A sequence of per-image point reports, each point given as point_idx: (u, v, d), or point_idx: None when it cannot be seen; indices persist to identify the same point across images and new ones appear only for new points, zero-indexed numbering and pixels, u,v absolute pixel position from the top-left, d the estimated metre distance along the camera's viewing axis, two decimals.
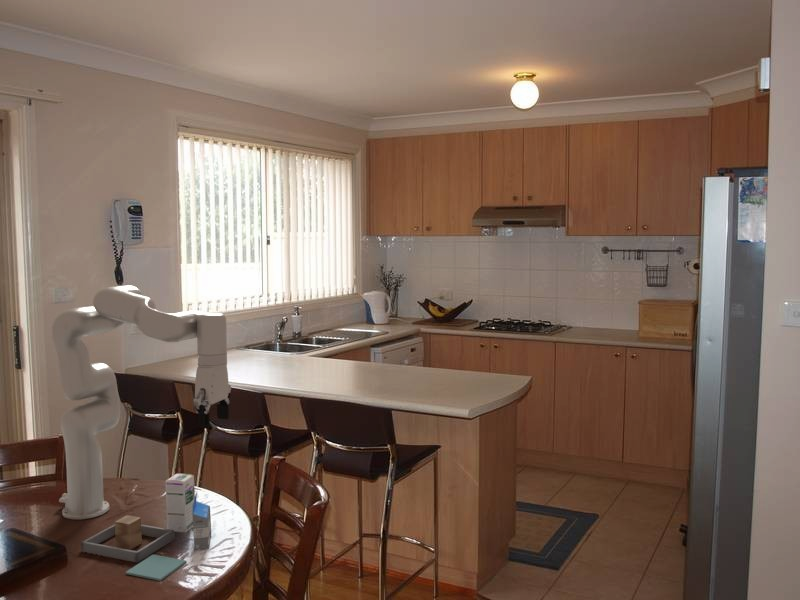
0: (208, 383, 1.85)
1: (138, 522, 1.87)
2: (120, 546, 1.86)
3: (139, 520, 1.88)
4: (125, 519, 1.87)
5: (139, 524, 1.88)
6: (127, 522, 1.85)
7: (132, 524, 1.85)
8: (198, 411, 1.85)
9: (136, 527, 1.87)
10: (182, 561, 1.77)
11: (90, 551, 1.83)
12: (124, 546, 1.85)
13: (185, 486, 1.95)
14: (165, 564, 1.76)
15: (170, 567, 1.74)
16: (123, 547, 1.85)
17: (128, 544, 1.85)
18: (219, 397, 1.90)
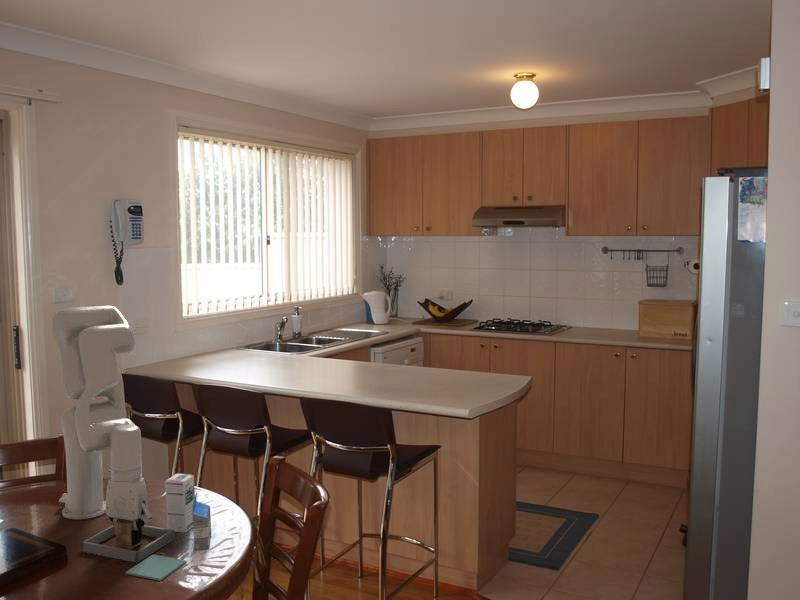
0: (146, 493, 1.86)
1: None
2: (120, 546, 1.85)
3: None
4: None
5: None
6: (127, 522, 1.85)
7: None
8: (140, 527, 1.85)
9: None
10: (182, 561, 1.77)
11: (90, 551, 1.83)
12: (124, 546, 1.85)
13: (185, 486, 1.95)
14: (165, 564, 1.76)
15: (170, 567, 1.74)
16: (123, 547, 1.85)
17: (128, 544, 1.85)
18: None
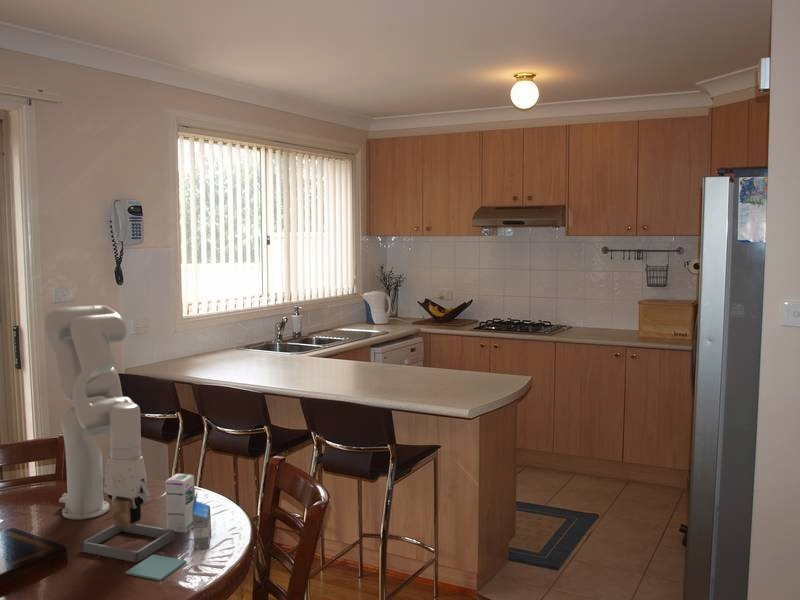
0: (145, 471, 1.86)
1: None
2: (119, 524, 1.85)
3: None
4: None
5: None
6: (126, 500, 1.85)
7: None
8: (139, 505, 1.85)
9: None
10: (182, 561, 1.77)
11: (90, 551, 1.83)
12: (123, 524, 1.85)
13: (185, 486, 1.95)
14: (165, 564, 1.76)
15: (170, 567, 1.74)
16: (122, 525, 1.85)
17: (127, 522, 1.84)
18: None
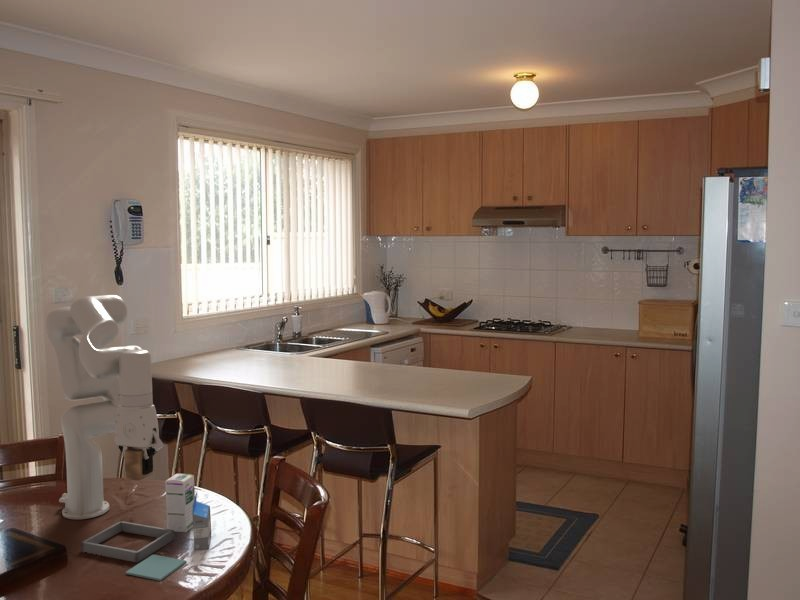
0: (157, 421, 1.78)
1: None
2: (130, 476, 1.77)
3: None
4: (136, 448, 1.79)
5: None
6: (137, 450, 1.77)
7: None
8: (151, 455, 1.77)
9: None
10: (182, 561, 1.77)
11: (90, 551, 1.83)
12: (135, 475, 1.77)
13: (185, 486, 1.95)
14: (165, 564, 1.76)
15: (170, 567, 1.74)
16: (133, 477, 1.77)
17: (139, 473, 1.77)
18: None
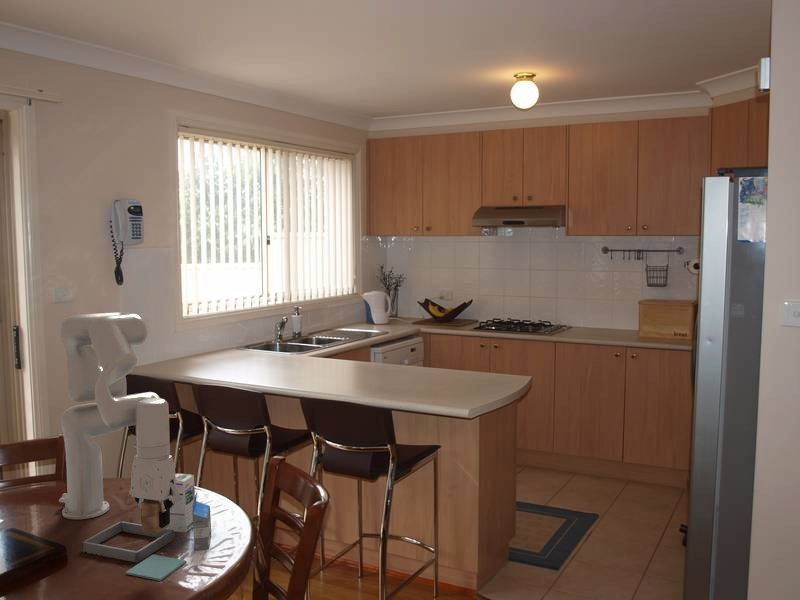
0: (174, 472, 1.72)
1: None
2: (147, 529, 1.72)
3: None
4: None
5: None
6: (154, 503, 1.71)
7: None
8: (168, 508, 1.71)
9: None
10: (182, 561, 1.77)
11: (90, 551, 1.83)
12: (151, 529, 1.71)
13: (185, 486, 1.95)
14: (165, 564, 1.76)
15: (170, 567, 1.74)
16: (150, 530, 1.72)
17: (155, 526, 1.71)
18: None
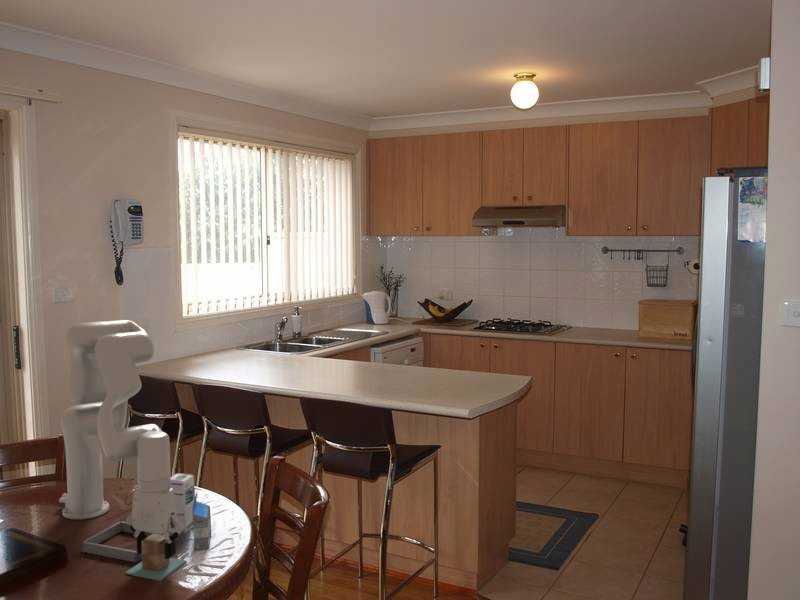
0: (175, 505, 1.73)
1: (166, 541, 1.75)
2: (147, 567, 1.73)
3: None
4: (152, 537, 1.75)
5: None
6: (154, 541, 1.72)
7: (160, 544, 1.73)
8: (174, 539, 1.72)
9: (164, 546, 1.74)
10: (182, 561, 1.77)
11: (90, 551, 1.83)
12: (152, 567, 1.73)
13: (185, 486, 1.95)
14: None
15: (170, 567, 1.74)
16: (150, 568, 1.73)
17: (156, 565, 1.72)
18: None
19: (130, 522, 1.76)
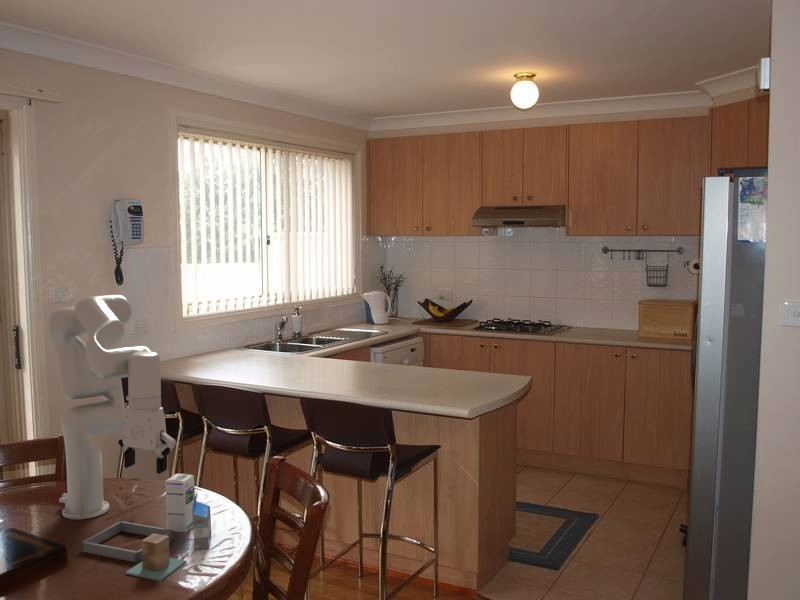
0: None
1: (166, 541, 1.75)
2: (147, 567, 1.73)
3: (167, 539, 1.75)
4: (152, 537, 1.75)
5: (167, 543, 1.75)
6: (154, 541, 1.72)
7: (160, 544, 1.73)
8: (166, 454, 1.76)
9: (164, 546, 1.74)
10: (182, 561, 1.77)
11: (90, 551, 1.83)
12: (152, 567, 1.73)
13: (185, 486, 1.95)
14: None
15: (170, 567, 1.74)
16: (150, 568, 1.73)
17: (156, 565, 1.72)
18: None
19: (119, 437, 1.80)
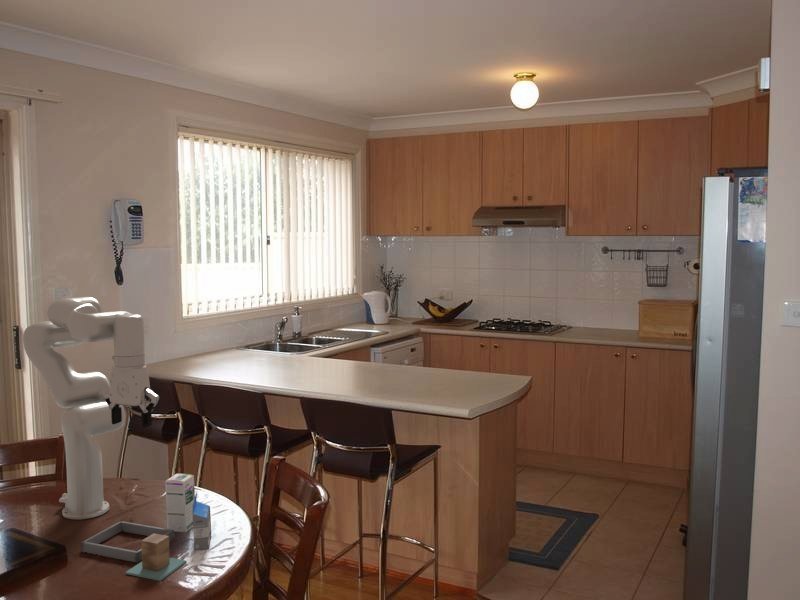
0: None
1: (166, 541, 1.75)
2: (147, 567, 1.73)
3: (167, 539, 1.75)
4: (152, 537, 1.75)
5: (167, 543, 1.75)
6: (154, 541, 1.72)
7: (160, 544, 1.73)
8: (150, 409, 1.88)
9: (164, 546, 1.74)
10: (182, 561, 1.77)
11: (90, 551, 1.83)
12: (152, 567, 1.73)
13: (185, 486, 1.95)
14: None
15: (170, 567, 1.74)
16: (150, 568, 1.73)
17: (156, 565, 1.72)
18: None
19: (106, 395, 1.92)
